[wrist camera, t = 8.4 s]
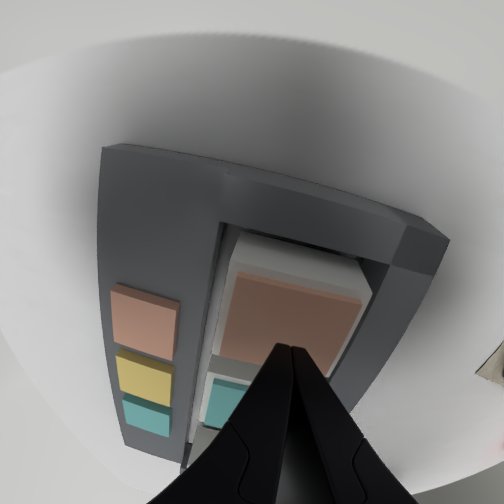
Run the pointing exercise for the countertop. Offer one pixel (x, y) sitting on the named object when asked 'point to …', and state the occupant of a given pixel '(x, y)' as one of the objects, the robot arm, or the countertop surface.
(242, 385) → the key teal
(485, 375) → the condiment
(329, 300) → the block
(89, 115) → the countertop surface
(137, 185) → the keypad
